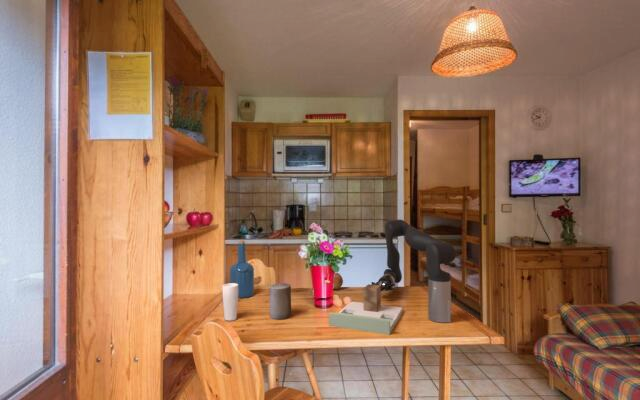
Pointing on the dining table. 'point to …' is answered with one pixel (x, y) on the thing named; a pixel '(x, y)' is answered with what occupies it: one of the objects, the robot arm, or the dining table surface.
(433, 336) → the dining table surface
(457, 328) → the dining table surface
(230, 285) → the drinking glass
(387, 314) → the shallow open tray
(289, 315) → the pillar candle
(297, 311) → the dining table surface
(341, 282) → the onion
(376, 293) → the walnut block
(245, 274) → the wine bottle
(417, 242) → the robot arm
